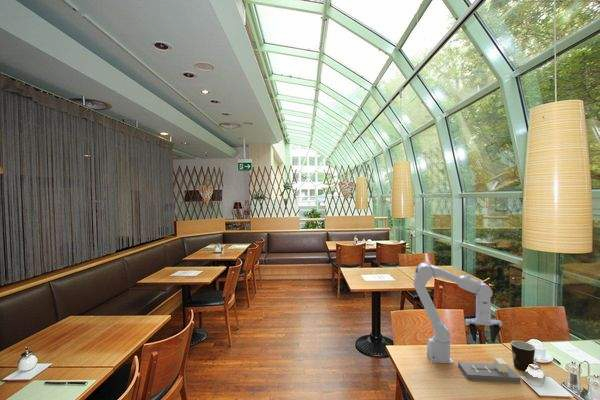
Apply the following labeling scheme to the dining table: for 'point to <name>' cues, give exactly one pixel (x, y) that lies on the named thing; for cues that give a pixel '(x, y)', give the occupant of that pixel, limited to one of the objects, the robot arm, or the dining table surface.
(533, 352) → the coffee mug
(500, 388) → the dining table surface
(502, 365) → the slider knob
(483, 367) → the slider panel
